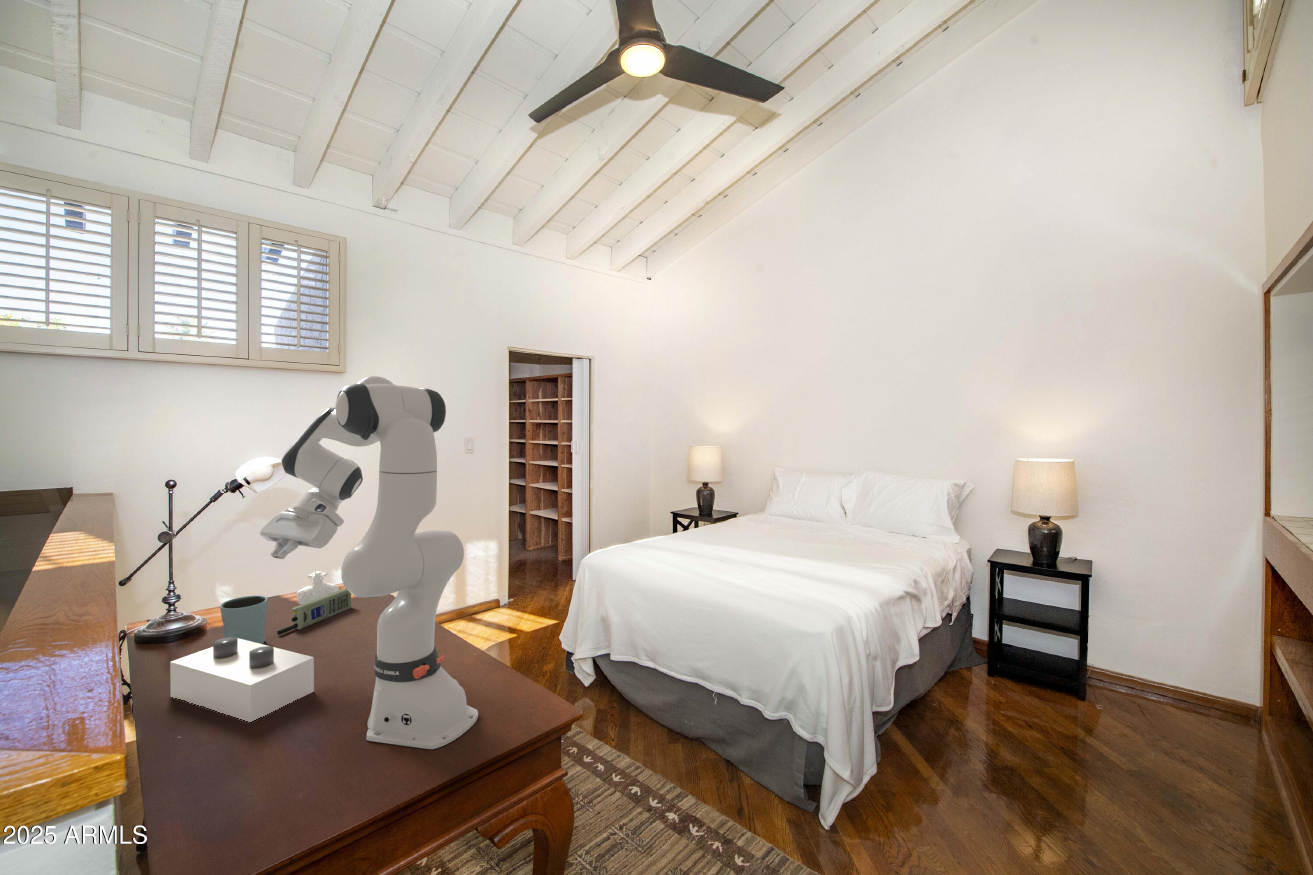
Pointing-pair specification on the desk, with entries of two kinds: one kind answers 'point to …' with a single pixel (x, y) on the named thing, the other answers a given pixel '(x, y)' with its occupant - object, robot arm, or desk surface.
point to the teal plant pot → (245, 618)
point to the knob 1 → (225, 647)
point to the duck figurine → (316, 588)
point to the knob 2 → (261, 657)
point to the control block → (242, 681)
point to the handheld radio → (319, 609)
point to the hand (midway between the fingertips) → (276, 557)
